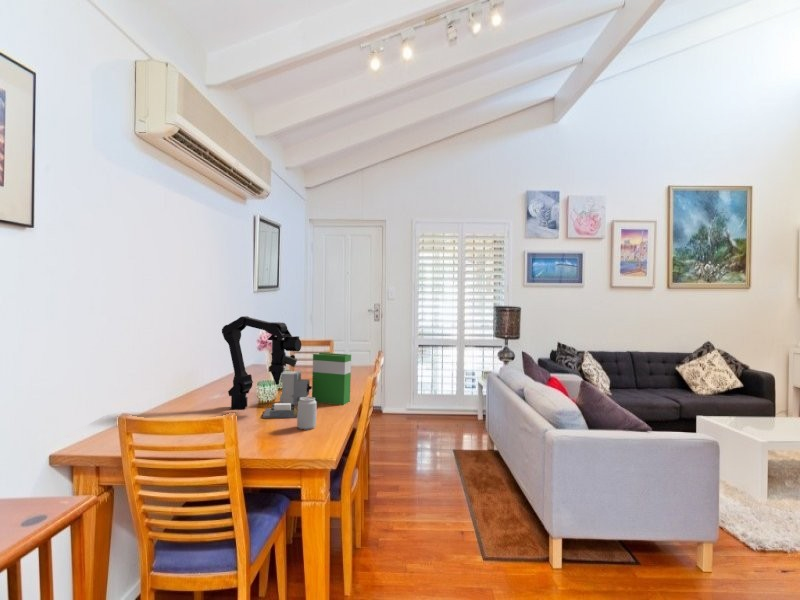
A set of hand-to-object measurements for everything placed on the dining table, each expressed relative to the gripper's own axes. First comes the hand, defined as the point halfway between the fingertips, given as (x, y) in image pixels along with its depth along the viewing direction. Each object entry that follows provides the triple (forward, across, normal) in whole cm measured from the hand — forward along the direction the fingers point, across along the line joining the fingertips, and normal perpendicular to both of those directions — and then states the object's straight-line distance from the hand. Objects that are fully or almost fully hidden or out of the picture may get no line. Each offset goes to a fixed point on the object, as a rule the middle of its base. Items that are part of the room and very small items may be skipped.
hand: (277, 384), depth 204 cm
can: (+13, -26, -14) cm, 32 cm away
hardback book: (+13, +19, -25) cm, 34 cm away
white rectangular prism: (+11, -7, -3) cm, 14 cm away
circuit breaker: (+13, +17, -8) cm, 23 cm away
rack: (+12, -4, -3) cm, 13 cm away
